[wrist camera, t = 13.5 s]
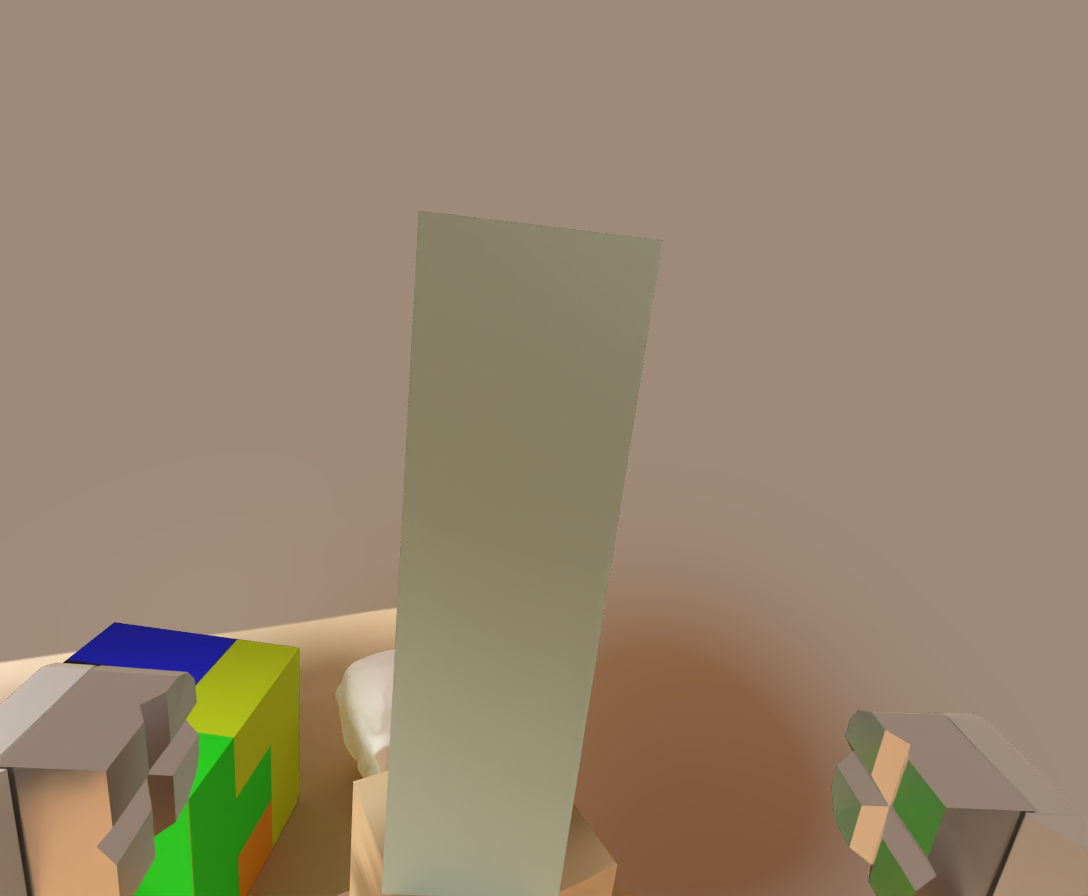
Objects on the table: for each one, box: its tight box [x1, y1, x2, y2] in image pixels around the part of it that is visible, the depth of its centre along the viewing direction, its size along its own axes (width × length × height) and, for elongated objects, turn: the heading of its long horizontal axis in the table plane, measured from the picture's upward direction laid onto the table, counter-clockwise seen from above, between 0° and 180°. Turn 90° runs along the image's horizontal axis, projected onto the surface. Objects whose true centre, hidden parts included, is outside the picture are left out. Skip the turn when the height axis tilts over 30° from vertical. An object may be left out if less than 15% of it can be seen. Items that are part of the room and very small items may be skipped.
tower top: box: [349, 771, 617, 896], centre depth 24 cm, size 7×7×6 cm
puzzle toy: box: [63, 622, 299, 896], centre depth 32 cm, size 10×10×10 cm
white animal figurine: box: [335, 649, 395, 778], centre depth 40 cm, size 6×8×12 cm
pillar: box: [382, 211, 663, 896], centre depth 20 cm, size 6×6×20 cm
